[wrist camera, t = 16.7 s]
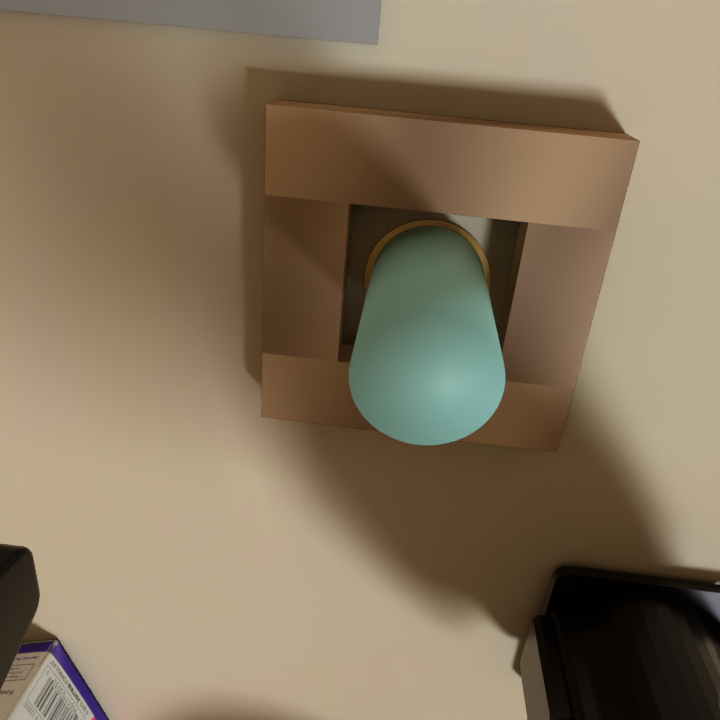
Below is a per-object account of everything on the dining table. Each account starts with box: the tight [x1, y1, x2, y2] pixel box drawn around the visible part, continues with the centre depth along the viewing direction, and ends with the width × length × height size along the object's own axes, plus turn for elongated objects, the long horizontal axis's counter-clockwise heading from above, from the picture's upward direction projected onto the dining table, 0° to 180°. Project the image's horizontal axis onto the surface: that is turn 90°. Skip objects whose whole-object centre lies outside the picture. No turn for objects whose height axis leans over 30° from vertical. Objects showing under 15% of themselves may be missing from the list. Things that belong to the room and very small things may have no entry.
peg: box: [349, 225, 505, 445], centre depth 16 cm, size 3×3×6 cm
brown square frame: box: [261, 99, 640, 452], centre depth 18 cm, size 9×9×1 cm
